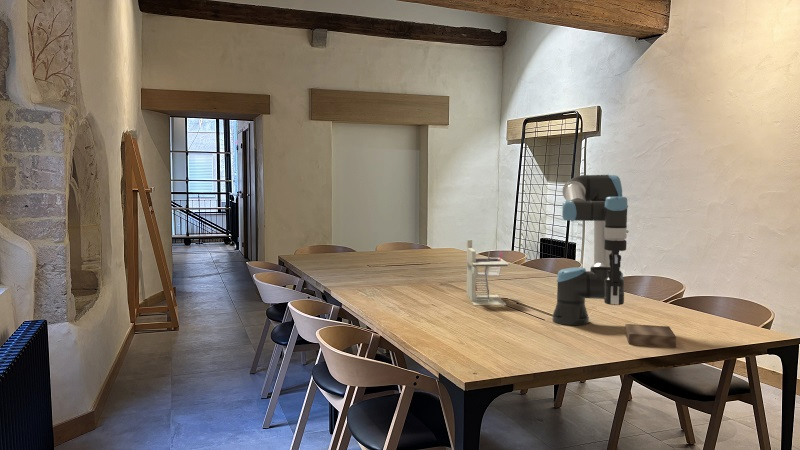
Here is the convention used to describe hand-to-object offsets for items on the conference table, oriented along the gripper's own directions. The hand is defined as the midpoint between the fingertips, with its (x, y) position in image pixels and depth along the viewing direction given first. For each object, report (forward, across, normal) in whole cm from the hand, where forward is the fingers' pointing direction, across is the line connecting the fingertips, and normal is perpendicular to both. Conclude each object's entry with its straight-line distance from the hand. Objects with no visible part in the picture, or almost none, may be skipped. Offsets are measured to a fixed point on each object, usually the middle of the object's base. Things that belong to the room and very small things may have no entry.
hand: (614, 301), depth 214 cm
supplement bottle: (+1, 0, 0) cm, 1 cm away
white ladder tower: (+18, +75, +57) cm, 96 cm away
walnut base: (+17, +14, -14) cm, 26 cm away
